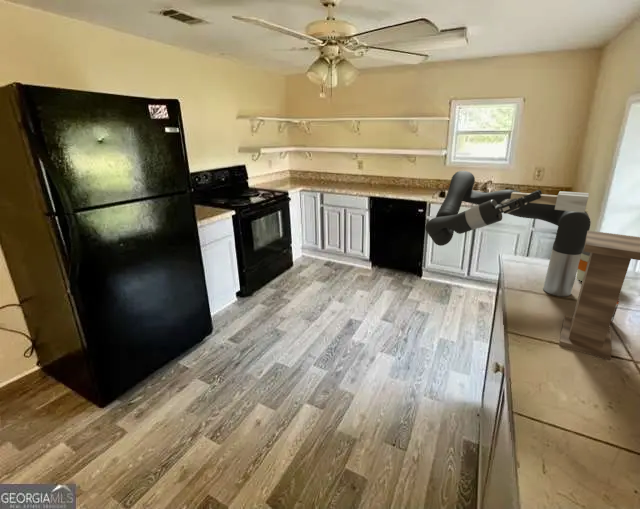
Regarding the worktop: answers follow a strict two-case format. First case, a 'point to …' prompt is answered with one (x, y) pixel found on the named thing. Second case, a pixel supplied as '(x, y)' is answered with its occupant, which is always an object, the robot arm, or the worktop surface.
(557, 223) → the robot arm
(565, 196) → the grey and beige bar
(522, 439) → the worktop surface
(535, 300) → the worktop surface
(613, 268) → the stand
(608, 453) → the worktop surface
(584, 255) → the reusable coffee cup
